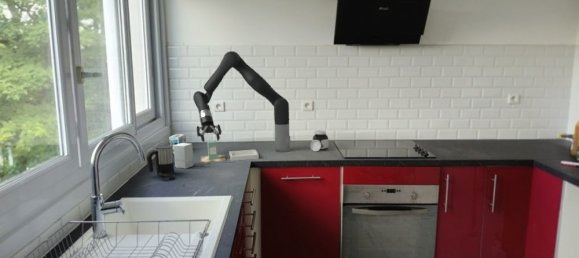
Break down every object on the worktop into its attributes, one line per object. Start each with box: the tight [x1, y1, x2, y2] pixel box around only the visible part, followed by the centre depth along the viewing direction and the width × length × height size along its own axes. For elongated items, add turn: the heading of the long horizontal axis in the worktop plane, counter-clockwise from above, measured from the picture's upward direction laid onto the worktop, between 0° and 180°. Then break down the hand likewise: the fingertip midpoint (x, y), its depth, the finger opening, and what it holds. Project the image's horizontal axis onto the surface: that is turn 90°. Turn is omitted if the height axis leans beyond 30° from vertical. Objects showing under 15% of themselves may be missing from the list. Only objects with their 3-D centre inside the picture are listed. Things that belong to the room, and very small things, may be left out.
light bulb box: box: [168, 133, 187, 155], centre depth 269 cm, size 11×7×11 cm, turn 168°
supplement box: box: [173, 142, 195, 170], centre depth 232 cm, size 7×7×13 cm
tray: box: [228, 149, 260, 162], centre depth 250 cm, size 16×14×3 cm
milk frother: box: [146, 144, 176, 179], centre depth 214 cm, size 14×16×15 cm
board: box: [200, 154, 227, 165], centre depth 247 cm, size 14×14×1 cm
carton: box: [207, 139, 219, 160], centre depth 246 cm, size 5×5×10 cm
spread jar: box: [309, 130, 330, 152], centre depth 267 cm, size 12×11×12 cm
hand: (211, 140), depth 248 cm, fingers open, 8 cm apart
